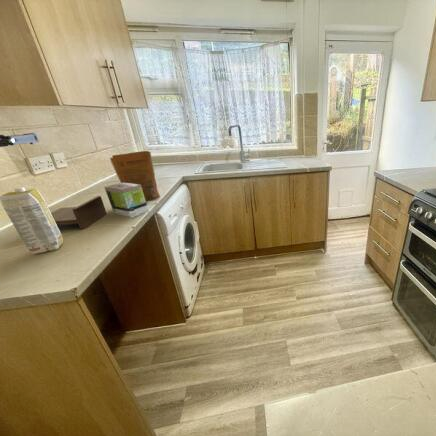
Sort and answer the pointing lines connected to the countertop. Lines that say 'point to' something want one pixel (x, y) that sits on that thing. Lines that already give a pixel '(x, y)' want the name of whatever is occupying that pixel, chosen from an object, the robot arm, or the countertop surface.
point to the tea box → (127, 199)
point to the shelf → (81, 213)
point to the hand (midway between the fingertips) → (8, 138)
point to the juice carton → (32, 220)
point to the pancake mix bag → (137, 171)
